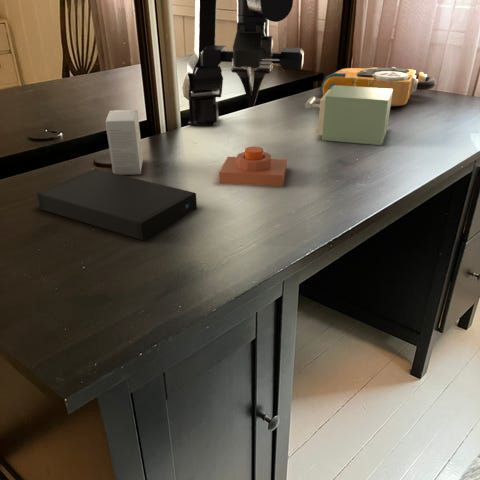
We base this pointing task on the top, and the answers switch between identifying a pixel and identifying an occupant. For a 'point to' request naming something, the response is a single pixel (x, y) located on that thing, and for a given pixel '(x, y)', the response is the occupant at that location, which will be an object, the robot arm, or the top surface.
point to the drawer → (321, 112)
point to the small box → (124, 141)
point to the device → (381, 81)
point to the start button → (254, 153)
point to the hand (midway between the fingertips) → (251, 105)
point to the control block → (253, 171)
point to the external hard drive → (118, 203)
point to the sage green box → (356, 114)
